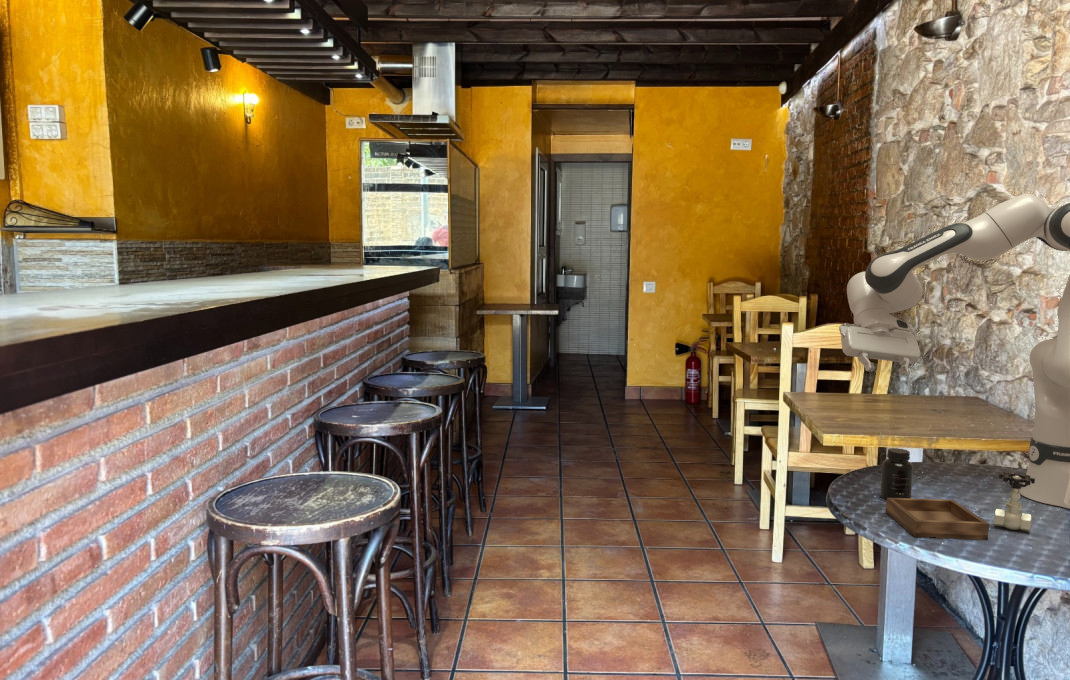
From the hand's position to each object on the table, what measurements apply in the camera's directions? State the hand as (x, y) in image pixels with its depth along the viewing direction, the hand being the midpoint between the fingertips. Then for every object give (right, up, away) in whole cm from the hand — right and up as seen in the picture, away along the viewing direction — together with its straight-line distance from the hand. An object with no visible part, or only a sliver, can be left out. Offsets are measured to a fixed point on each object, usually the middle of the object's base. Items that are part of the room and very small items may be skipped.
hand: (887, 372), depth 192 cm
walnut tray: (-1, -33, -24) cm, 41 cm away
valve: (+15, -33, -25) cm, 45 cm away
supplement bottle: (-1, -31, -6) cm, 31 cm away
